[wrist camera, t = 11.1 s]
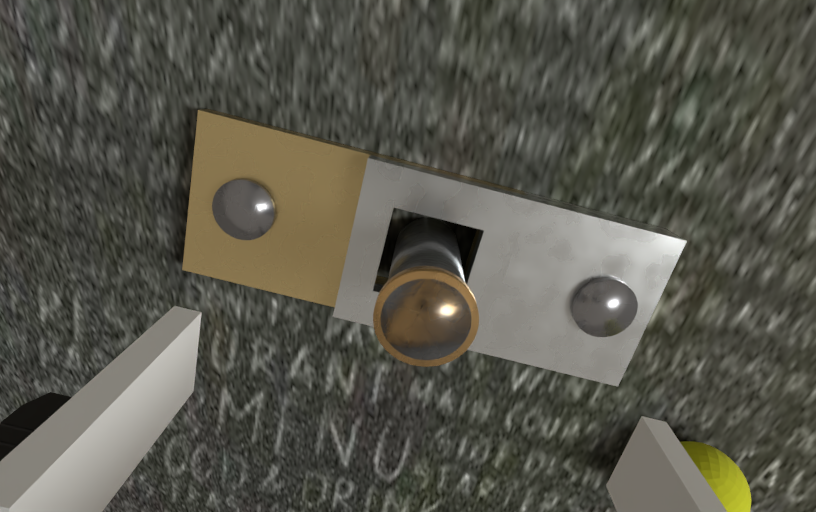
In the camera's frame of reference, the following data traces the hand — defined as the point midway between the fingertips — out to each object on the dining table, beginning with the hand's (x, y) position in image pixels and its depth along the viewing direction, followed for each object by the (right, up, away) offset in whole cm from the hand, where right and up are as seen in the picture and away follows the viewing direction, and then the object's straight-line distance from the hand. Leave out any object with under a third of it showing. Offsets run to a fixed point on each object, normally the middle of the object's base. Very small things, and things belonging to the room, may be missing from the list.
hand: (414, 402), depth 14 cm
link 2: (+7, +4, +23) cm, 24 cm away
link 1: (-5, +6, +22) cm, 24 cm away
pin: (+1, +5, +23) cm, 23 cm away
